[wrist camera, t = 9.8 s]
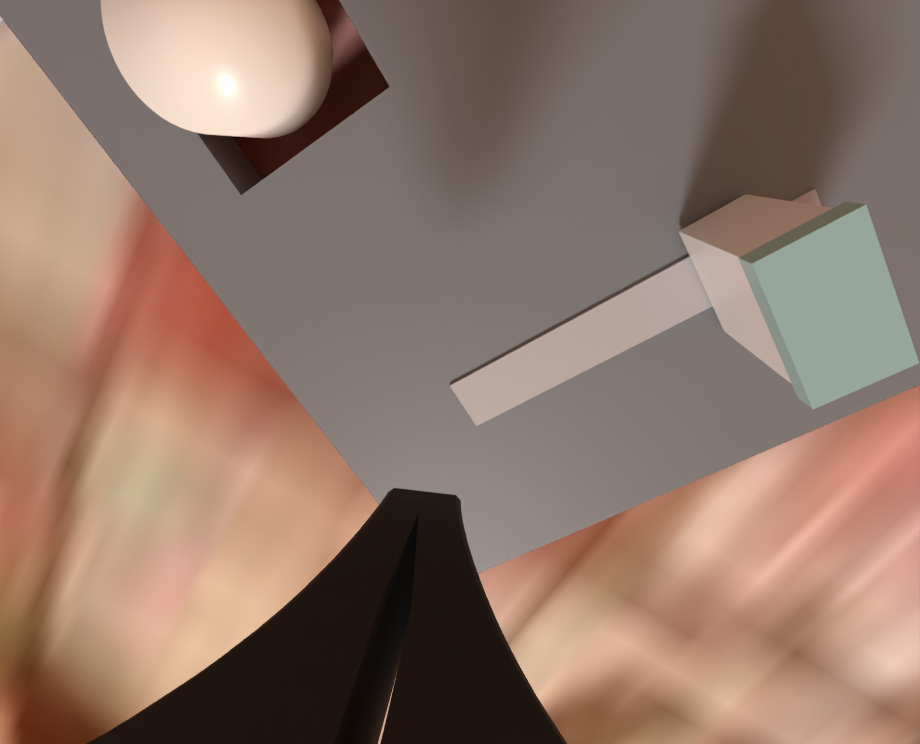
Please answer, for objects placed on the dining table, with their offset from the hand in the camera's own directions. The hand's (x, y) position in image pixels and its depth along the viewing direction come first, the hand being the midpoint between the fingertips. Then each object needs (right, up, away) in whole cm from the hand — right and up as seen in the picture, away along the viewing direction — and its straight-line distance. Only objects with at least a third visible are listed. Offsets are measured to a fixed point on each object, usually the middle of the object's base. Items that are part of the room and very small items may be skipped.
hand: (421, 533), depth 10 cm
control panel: (+3, +9, +5) cm, 11 cm away
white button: (-4, +11, +3) cm, 13 cm away
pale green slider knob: (+8, +6, +4) cm, 11 cm away
